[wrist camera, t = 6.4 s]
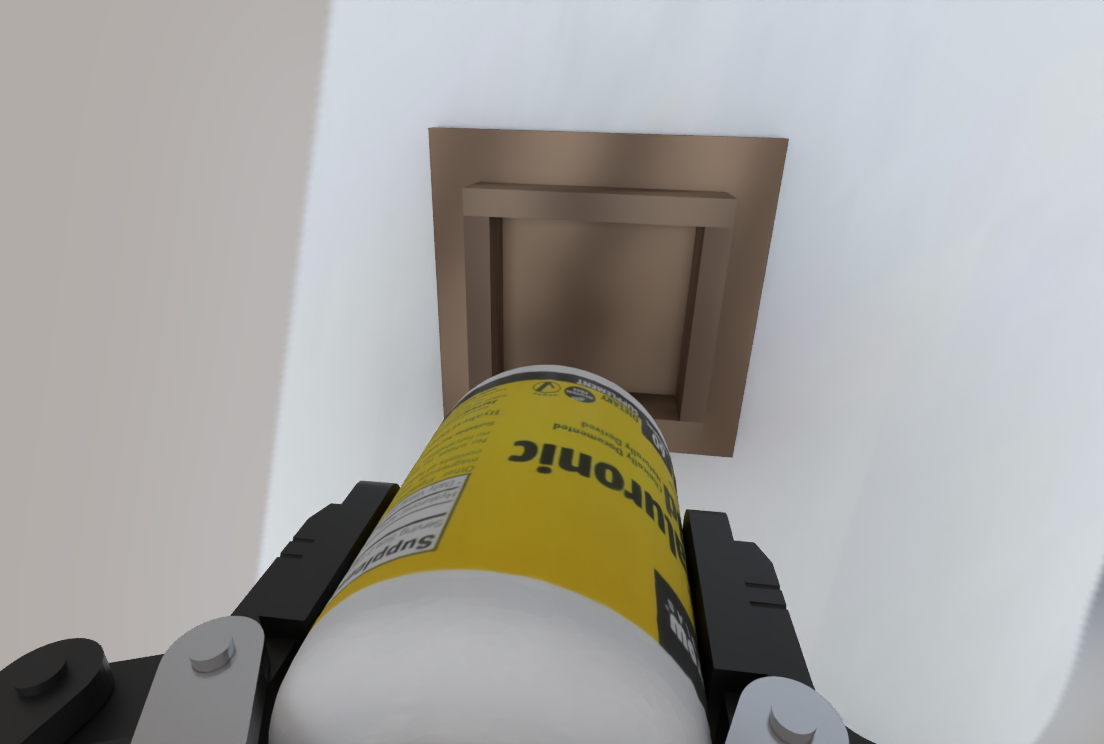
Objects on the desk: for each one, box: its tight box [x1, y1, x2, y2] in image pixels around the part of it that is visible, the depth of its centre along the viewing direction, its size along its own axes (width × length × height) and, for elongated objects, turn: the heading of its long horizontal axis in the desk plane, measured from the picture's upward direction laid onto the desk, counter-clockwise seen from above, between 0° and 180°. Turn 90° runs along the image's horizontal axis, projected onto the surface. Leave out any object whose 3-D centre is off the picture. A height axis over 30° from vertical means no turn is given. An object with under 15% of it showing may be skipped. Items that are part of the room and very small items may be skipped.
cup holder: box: [428, 128, 789, 457], centre depth 25 cm, size 14×14×4 cm
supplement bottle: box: [268, 365, 712, 744], centre depth 9 cm, size 6×6×10 cm
